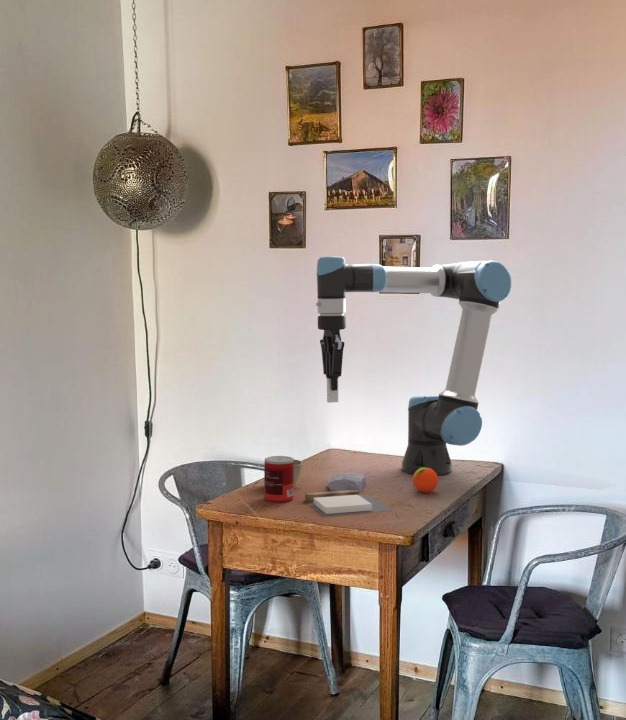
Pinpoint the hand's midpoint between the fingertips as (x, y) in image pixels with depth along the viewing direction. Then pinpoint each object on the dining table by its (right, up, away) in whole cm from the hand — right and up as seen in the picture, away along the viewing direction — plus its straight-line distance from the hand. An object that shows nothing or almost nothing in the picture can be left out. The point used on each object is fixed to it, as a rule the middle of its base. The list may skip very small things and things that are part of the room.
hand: (332, 401), depth 224 cm
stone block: (+4, -25, +7) cm, 26 cm away
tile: (+1, -24, -11) cm, 27 cm away
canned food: (-14, -26, -7) cm, 30 cm away
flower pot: (-13, -24, +6) cm, 29 cm away
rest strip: (0, -25, -8) cm, 26 cm away
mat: (+3, -26, -13) cm, 29 cm away
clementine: (+25, -25, +2) cm, 35 cm away
